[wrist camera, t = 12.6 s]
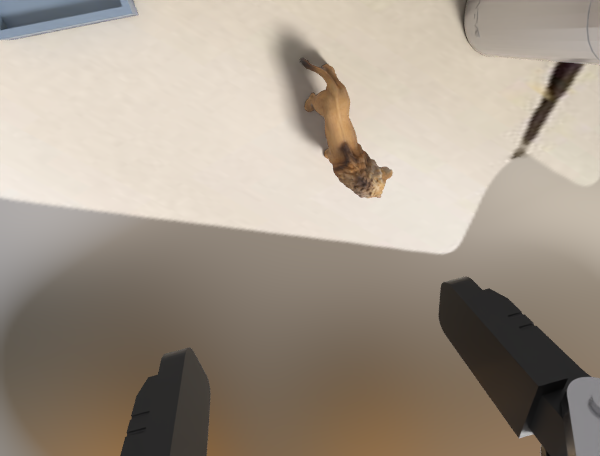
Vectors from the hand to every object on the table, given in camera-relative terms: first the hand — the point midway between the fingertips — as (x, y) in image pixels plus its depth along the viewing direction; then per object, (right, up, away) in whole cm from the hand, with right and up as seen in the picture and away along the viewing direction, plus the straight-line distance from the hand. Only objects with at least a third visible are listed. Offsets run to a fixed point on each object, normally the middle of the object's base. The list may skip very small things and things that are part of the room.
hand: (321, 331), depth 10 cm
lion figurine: (+3, +15, +27) cm, 32 cm away
